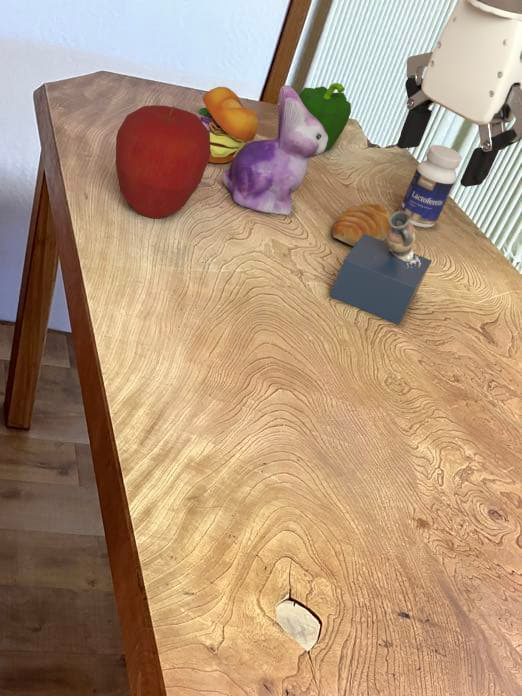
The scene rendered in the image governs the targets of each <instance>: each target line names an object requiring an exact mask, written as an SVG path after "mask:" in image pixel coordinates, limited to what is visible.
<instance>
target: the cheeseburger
mask: <svg viewBox="0 0 522 696" xmlns="http://www.w3.org/2000/svg"><path fill="white" fill-rule="evenodd" d="M202 101H203V104H204V106H205V107H201V108H200V109H198V111H197V110H196V111H192V112H191V113H193V114H195V115H197V116H198V118H199V119H200V120H201V121H202V123H203V124H204V125H205V127H206V128H207V130H208V131H209V132H210V150H211V151H210V158H209V161H208V163H212V164H225V163H231V162H232V161H233V159H234V157H235V156H236V154H237V153H238V152H239V150H240V149H241V148H242V147H244V146H245V145H247V144H248V142H252V141H254V139H255V137H256V135H257V133H258V129H259V120H258V116H257V112H255V111H254V110H253V109H251V108H247V107H245V106H244V105H243V103H242V101H241V100H240V98H239V96H238V95H237V93H235V92H234V91H233V90H232V89H230V88H229V87H226V86H217V87H214V88H211V89H209V91H207V92H206V93H205V94H204V95H203V96H202Z"/></svg>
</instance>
